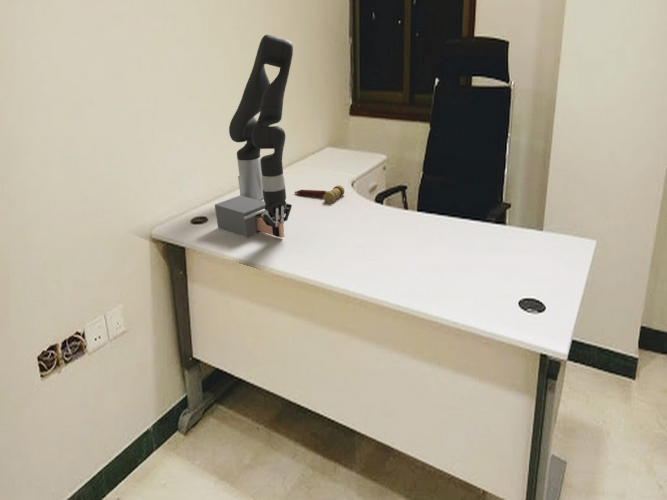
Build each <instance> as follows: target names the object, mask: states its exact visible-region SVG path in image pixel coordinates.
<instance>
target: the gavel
mask: <svg viewBox="0 0 667 500" xmlns="http://www.w3.org/2000/svg"><path fill="white" fill-rule="evenodd" d="M294 194H295V195H298V196H302V197H304V196H305V197H318V198H319V197H320V198H321V197H322V198H323V200H324V201H325V203H331V204H332V203H334V202H335V201H336V200H338V198H339V197H343V196H344V194H345V188H344V187H343V186H342V185H335V186H334V187H333V188H332V189H331V190H318V189H317V190H315V189H300V190H297V191H296V190H295V191H294Z"/></svg>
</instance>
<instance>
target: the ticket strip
mask: <svg viewBox="0 0 667 500" xmlns="http://www.w3.org/2000/svg"><path fill="white" fill-rule="evenodd" d="M255 220H256V229H257V231H261V232H260V233H264V234H267V235H270V236H274V235H273V230H272V227H271V226H268V225H267V224H266V223H265V222H264V221H263V219H262V218H261V217H259V216H256V215H255ZM278 226H279V236H278V238H281V239H283V238H284V237H285V233H284V231H283V228H284V224H283V223H280V222H278ZM274 237H275V236H274Z"/></svg>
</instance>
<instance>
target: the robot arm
mask: <svg viewBox="0 0 667 500" xmlns="http://www.w3.org/2000/svg"><path fill="white" fill-rule="evenodd" d="M293 55H294V45H293V43H292V41H290V40H289V39H286V38H283V37H278V36H275V35H272V34H271V35H270V34H265V35H263V36H262V38H261V39H260V42H259V45H258V48H257V51H256V55H255V58H254V59H255V60H254V61H253V67H252V68H251V69H252V70H251V73H250V75H249V78H248V79H247V82H246V83H245V84H246V85H245V87H244V90H243V93H242V96H241V99H240V102H239V104H238V107H237V109H236V110H235V113H234V114H233V116H232V118H231V120H230V122H229V127H228V133H229V137H230V139H231V140H232V141H233V142H235V143H245V142H246V143H245V144H244V146H242V147H241V148H239V150H237V151H236V157H237V159H236V161H237V167H238V176H237V179H238V185H239V188H238V189H239V193H240V195H241V196H245V197H248V198H252V199H256V200H260V201H262V200H263V201H264V202H265V204H266V205H265V211H264V213H261V214H260V217H261V218H262V219H263V221H264V222H265V223H266V224H267V225H268V226H271V227H272V230H273V235H274V237H276V238H277V237H278V236H279V226H278V222H280V223H283V225H284V224H285V222H287V221H288V219H289V216H290V213H291V210H292V207H293V205H292V204H289V203H287V201H286V199H287V190H286V182H285V175H284V169H283V155H284V154H283V153H284V148H285V143H286V132H285V130H284V129H283V127H281V126H280V125H279V126H278V125H276V126H275V124H277V123H280V122H281V121H282V117H283V106H284V96H285V91H286V88H287V87H286V86H287V84H288V79H289V74H290V70H291V65H292V60H293ZM265 65H269V66H272V67H276V68H279V71H278V74H277V76H276V77H275V78H274V79H273V80H272V82H270V80H269V77H268V74H267V73H266V68H265ZM258 114H259V116H258V118H256V117H255V116H257V115H258ZM273 125H274V126H273ZM265 149H266V150H269V149H271V150H272V149H273V150H274V151H273V152H272V153H270V154H266V155H264V156H262V157H261V150H265ZM240 195H239V196H240ZM268 214H269V215H268ZM283 231H284V227H283ZM273 235H272V236H273ZM278 238H279V237H278Z"/></svg>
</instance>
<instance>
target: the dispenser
mask: <svg viewBox="0 0 667 500" xmlns="http://www.w3.org/2000/svg"><path fill="white" fill-rule="evenodd" d="M265 205H266V204H265V202H264V200H256V199H252V198H248V197H245V196H241V195H237V196H234V197H232V198H229V199H226V200H224V201H222V202H218V203H216V204H214V209H215V215H216V216H215V217H216V222H217V229H220V230H223V231H226V232H228V233H233V234H235V235H238V236H242V237H245V238H250V237H252V236H254V235H257V234H259V233H262V232H261V231H257V229H256V220H255V215H256V216H259V217H260V214H261V213H264V211H265ZM268 215H269V214H268Z"/></svg>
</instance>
